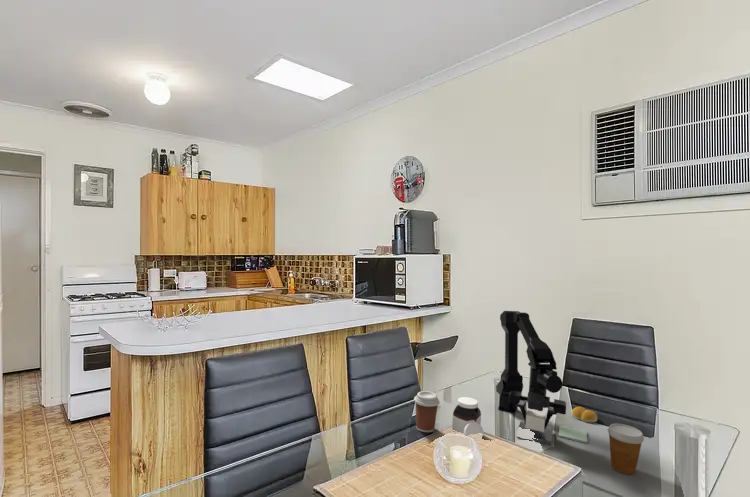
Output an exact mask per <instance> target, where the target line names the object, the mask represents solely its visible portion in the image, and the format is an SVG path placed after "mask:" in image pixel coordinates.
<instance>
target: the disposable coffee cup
mask: <svg viewBox="0 0 750 497" xmlns="http://www.w3.org/2000/svg"><path fill="white" fill-rule="evenodd" d="M607 432H608V436H609V438H608V440H609V451H610V464H611V465H610V467H612V469H614V470H615V471H616V472H619V473H621V474H624V475H634V474H636V469H637V465H638V460H639V458H640V457H639V456H640V452H641V448H642V443H643V441H644V440H645V437H644V435H643V431H641V430H639V429H638V428H636V427H634V426H631V425H628V424H623V423H610V425H609V426H608V428H607Z"/></svg>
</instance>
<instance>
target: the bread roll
mask: <svg viewBox="0 0 750 497" xmlns="http://www.w3.org/2000/svg"><path fill="white" fill-rule="evenodd" d="M570 414H571V416H572V417H573V418H575V419H576V420H578V421H579V420H580V421H582V422H584V423H591V424H592V423H596V422H597V421H598V414H597V413H596V412H594V411H593V410H589V409H586V408H584V407H582V406H576V407H574V408H573V409H572V410H571V411H570Z"/></svg>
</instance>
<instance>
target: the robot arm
mask: <svg viewBox="0 0 750 497" xmlns="http://www.w3.org/2000/svg"><path fill="white" fill-rule="evenodd" d="M499 319H500V325H501V327H502V329H503V331H504V333H505V336H504V342H505V343H504V349H505V350H504V355H505V356H504V369H503V371H502V373H501V374H500V380H499V381H498V383H497V384H496V386H495V390H496V393H497V394H498V395H499V402H498V408H497V410H500V411H504V412H509V413H513V414H515V413H516V411H517V410H518V408H519V409H520V412H521V415H522V417H523V422H525V424H526V414H527V411H528V409H530V410H534V411H539V412H544V409H547V411H546V419H545V428H544V429H546V427H547V426H548V424H549V423H550V420H551V418H552V417H553V416H554V415H557V414H560V415H566V414H567V402H566V401H565V400H560V399H553V400H554V401H551V397H550V396H547V391H548V392H549V393H552V394H556V393H558V392H559V391H561V389H562V388H563V380H562V378H561V377H560V376H559V375H558V371H557V369H558V368H557V362H556V360H555V357H554V354H553V351H552V349H551V348H550V346H549V345H548V344H547V342H545V341H543V340H542V339H541V338H540V337H539V334H538V333H537V330H536V328H535V327H534V325H533V323H532V321H531V319H530V314H529V313H528V312H521V311H519V310H503V312H501V314H500V315H499ZM519 332H520V333H521V334H522V337H523V339H524V342H525V343H526V345H527V348H526V351H525V352H526V355H527V359H528V361H529V362H528V363H527V365H528V366H529V370H530V371H529V381H528V382H529V384H528V392H527V396H524V395H522V393H523V390H524V383H523V382H524V381H523V380H524V379H523V378H524V377H523V375H521V374H520V372H519V369H518V368H519V367H518V363H519V362H518V361H519V358H518V356H519V354H518V352H519V341H518V340H519V336H518V335H519ZM547 428H548V427H547Z"/></svg>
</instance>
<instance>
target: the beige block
mask: <svg viewBox="0 0 750 497" xmlns="http://www.w3.org/2000/svg"><path fill="white" fill-rule="evenodd" d="M546 416H547V412H544V411H538V410H534V409H529V408H527V414H526V426H525V428H528V429H532V430H536V431H541V432H544V428H545V420H546Z"/></svg>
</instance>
